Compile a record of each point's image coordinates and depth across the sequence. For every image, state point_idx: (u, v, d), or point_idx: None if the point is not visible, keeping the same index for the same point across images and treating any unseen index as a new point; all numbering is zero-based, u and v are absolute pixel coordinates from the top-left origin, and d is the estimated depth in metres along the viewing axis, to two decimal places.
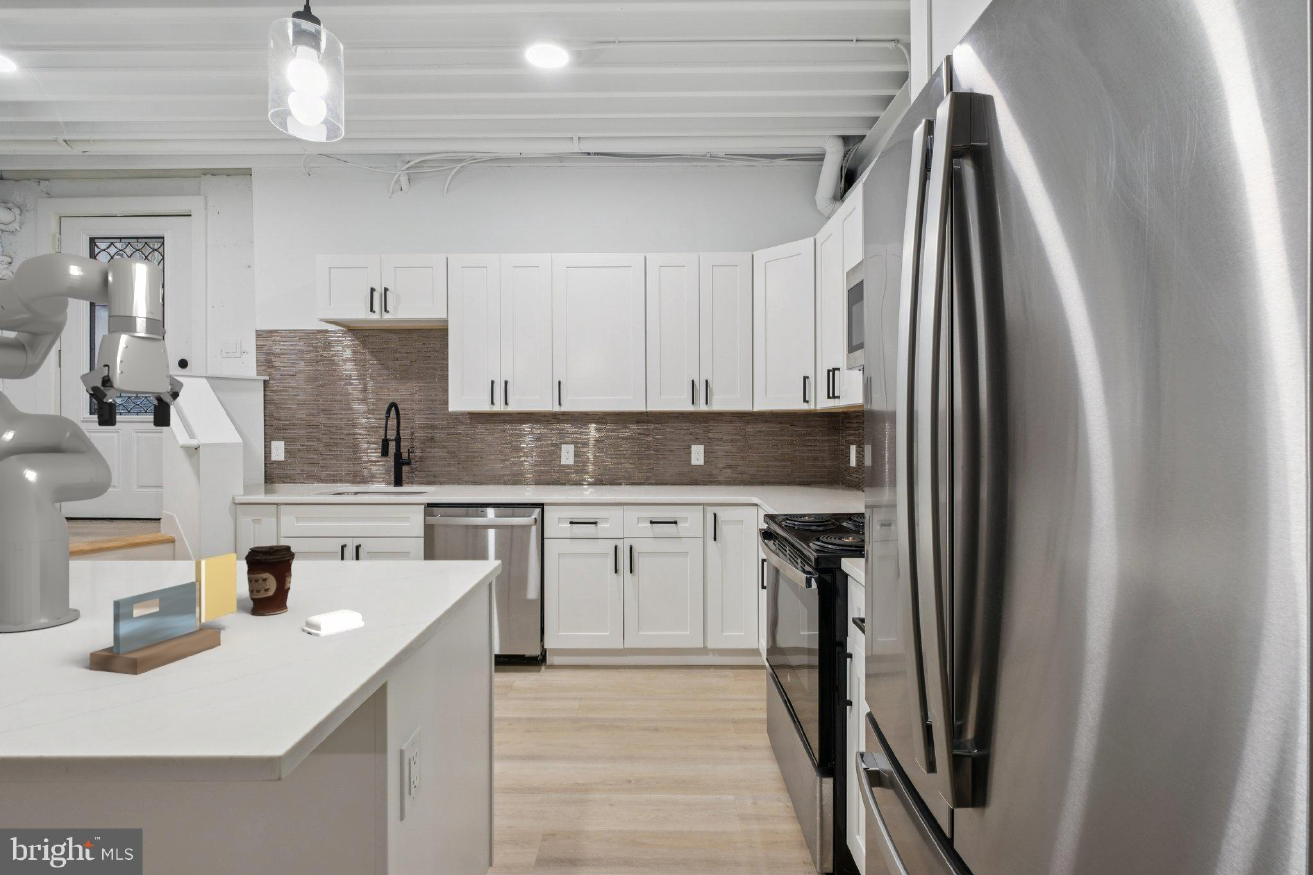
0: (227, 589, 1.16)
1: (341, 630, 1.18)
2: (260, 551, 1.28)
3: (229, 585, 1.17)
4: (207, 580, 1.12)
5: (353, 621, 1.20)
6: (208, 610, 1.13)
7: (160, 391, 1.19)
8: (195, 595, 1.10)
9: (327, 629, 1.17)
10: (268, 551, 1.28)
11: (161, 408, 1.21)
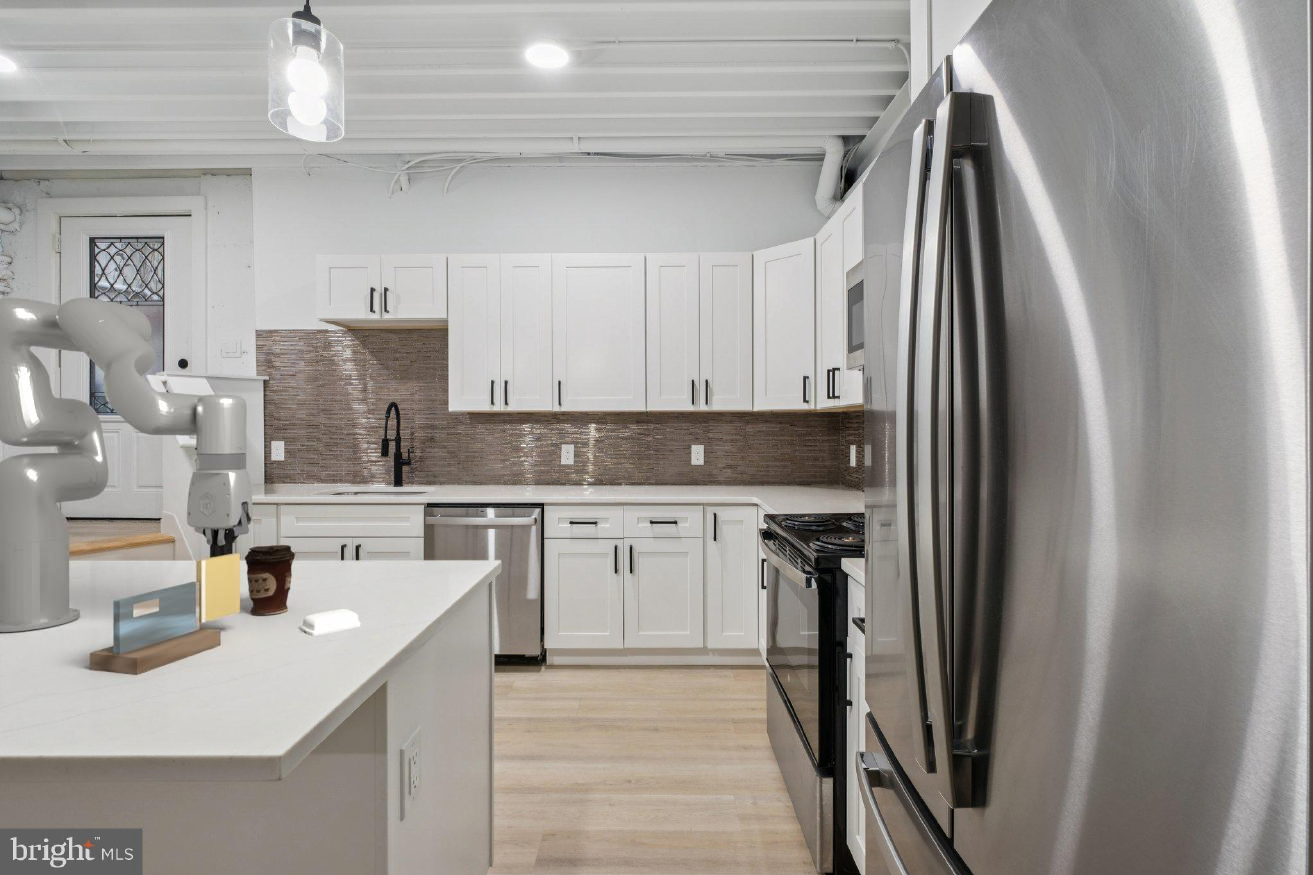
0: (230, 589, 1.16)
1: (335, 630, 1.18)
2: (260, 551, 1.28)
3: (232, 585, 1.16)
4: (208, 580, 1.12)
5: (348, 621, 1.20)
6: (209, 610, 1.13)
7: None
8: (195, 595, 1.10)
9: (321, 628, 1.17)
10: (268, 551, 1.28)
11: None
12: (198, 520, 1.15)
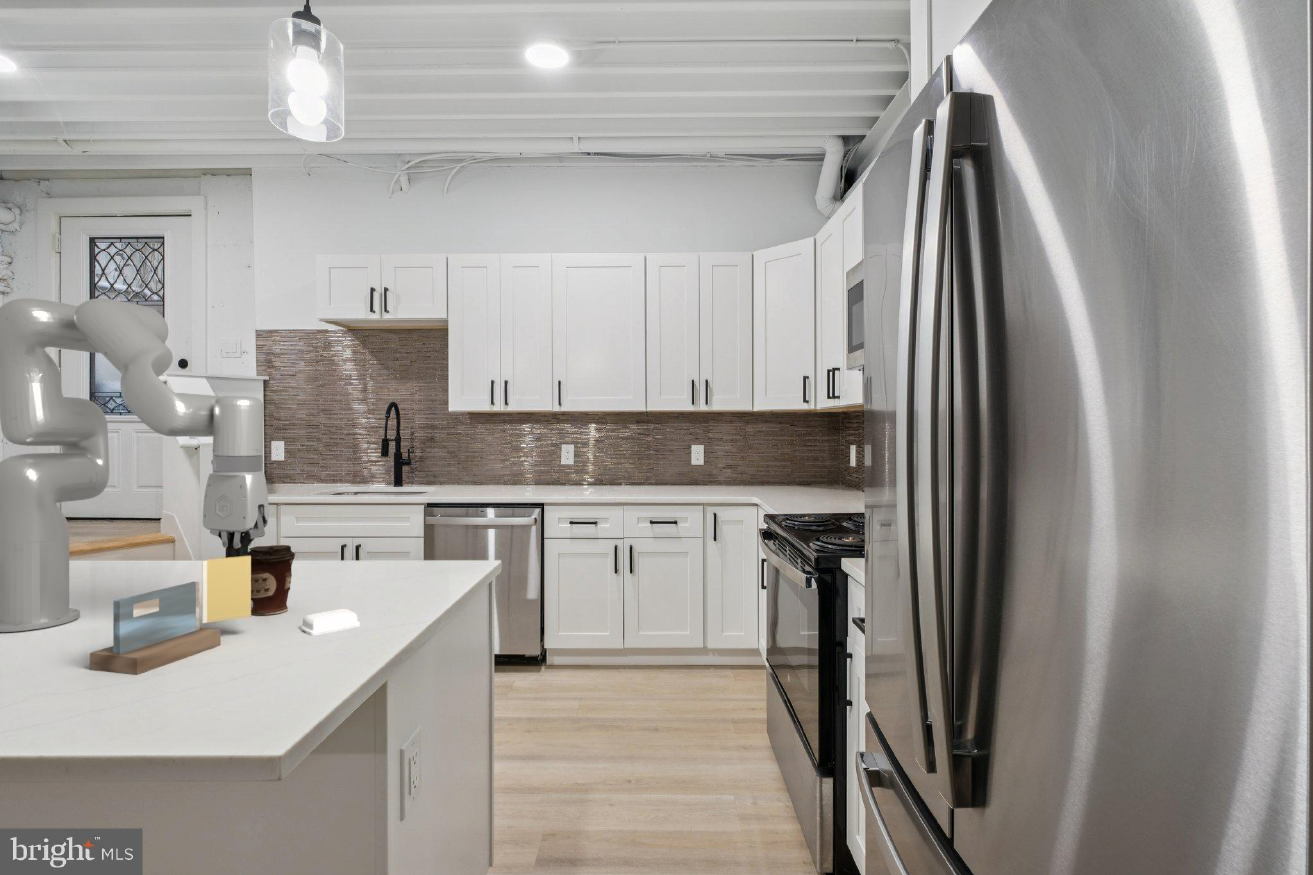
0: (238, 592, 1.14)
1: (334, 630, 1.18)
2: (260, 551, 1.28)
3: (241, 588, 1.14)
4: (210, 581, 1.12)
5: (348, 621, 1.20)
6: (212, 611, 1.12)
7: None
8: (195, 595, 1.10)
9: (319, 628, 1.17)
10: (268, 551, 1.28)
11: None
12: (214, 522, 1.14)
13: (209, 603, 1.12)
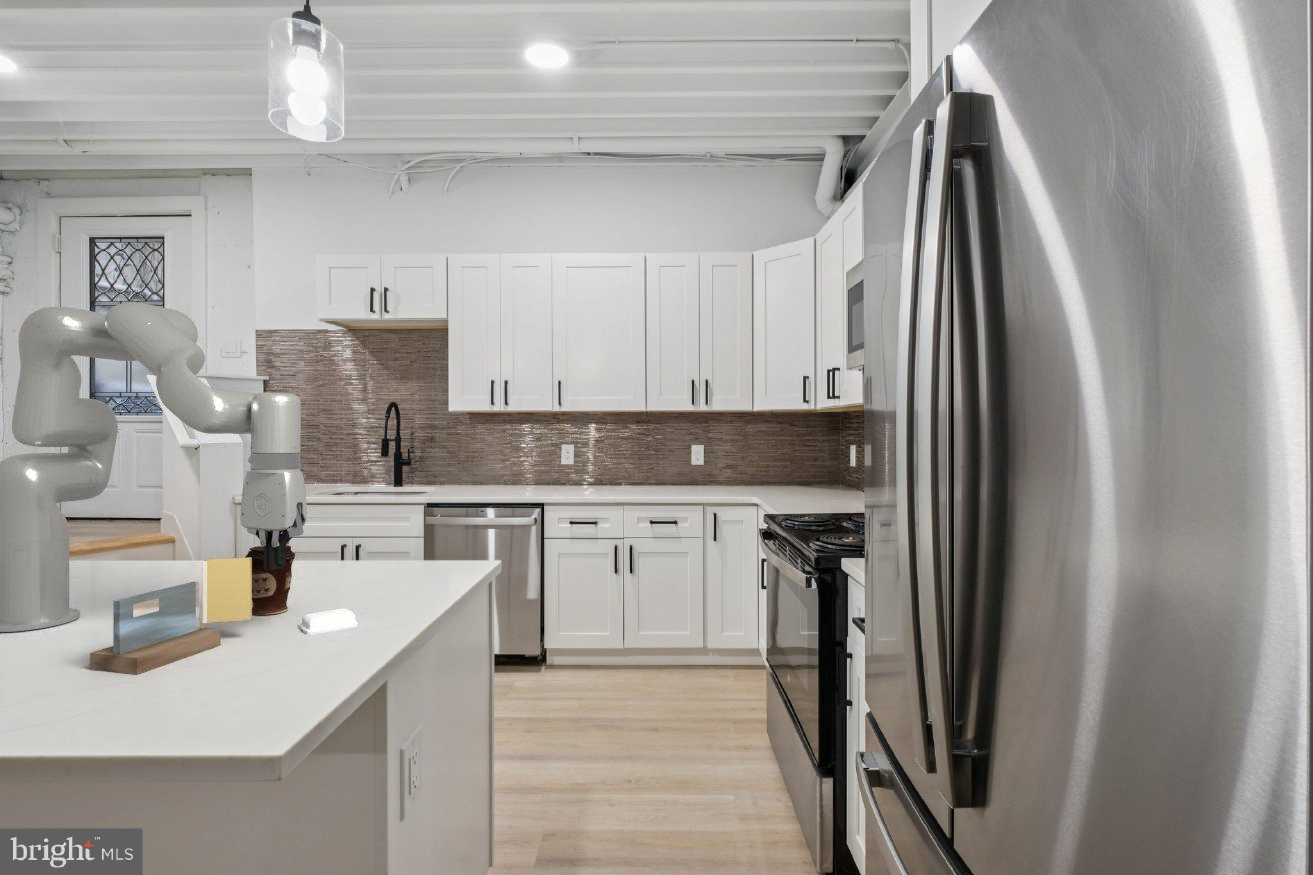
0: (237, 594, 1.13)
1: (331, 629, 1.18)
2: (260, 551, 1.28)
3: (240, 590, 1.13)
4: (210, 581, 1.11)
5: (345, 621, 1.20)
6: (212, 612, 1.11)
7: None
8: (195, 595, 1.10)
9: (316, 628, 1.17)
10: None
11: None
12: (252, 521, 1.13)
13: (209, 604, 1.11)
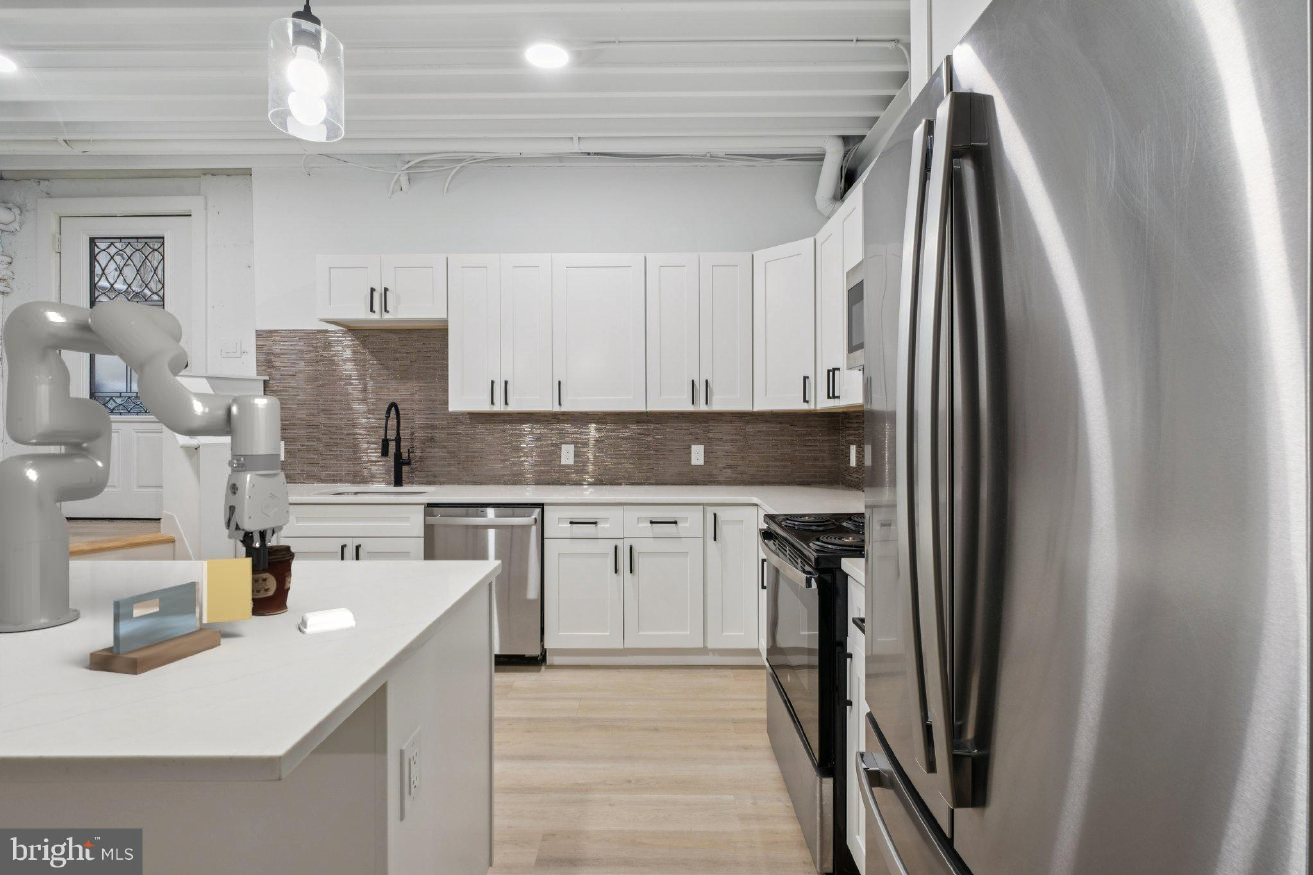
0: (237, 594, 1.13)
1: (328, 629, 1.19)
2: None
3: (239, 590, 1.13)
4: (210, 581, 1.11)
5: (342, 621, 1.20)
6: (211, 612, 1.11)
7: None
8: (195, 595, 1.10)
9: (313, 627, 1.18)
10: (268, 551, 1.28)
11: None
12: (261, 522, 1.14)
13: (209, 604, 1.11)
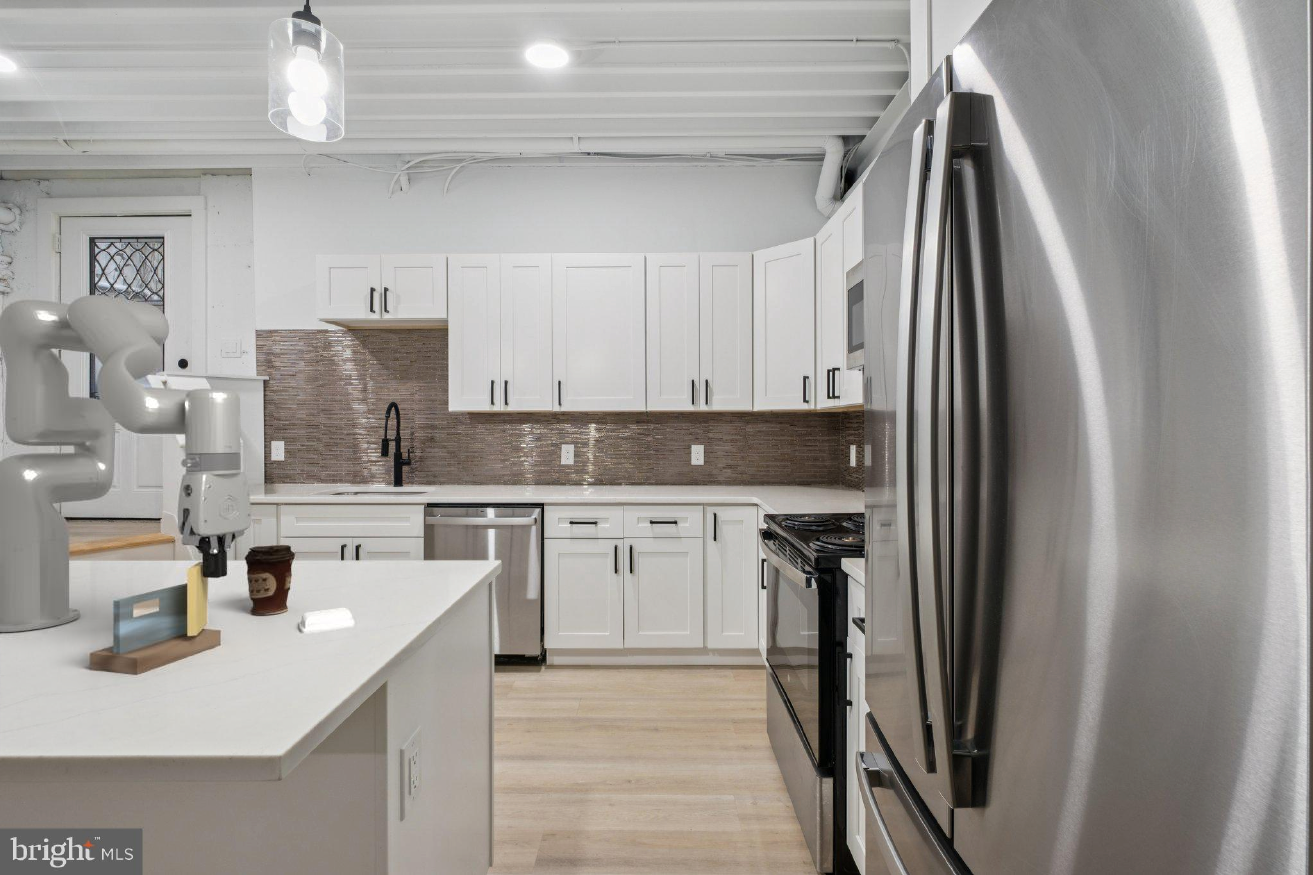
0: None
1: (326, 629, 1.19)
2: (260, 551, 1.28)
3: None
4: None
5: (341, 621, 1.21)
6: None
7: None
8: None
9: (311, 627, 1.18)
10: (268, 551, 1.28)
11: None
12: (218, 526, 1.05)
13: None
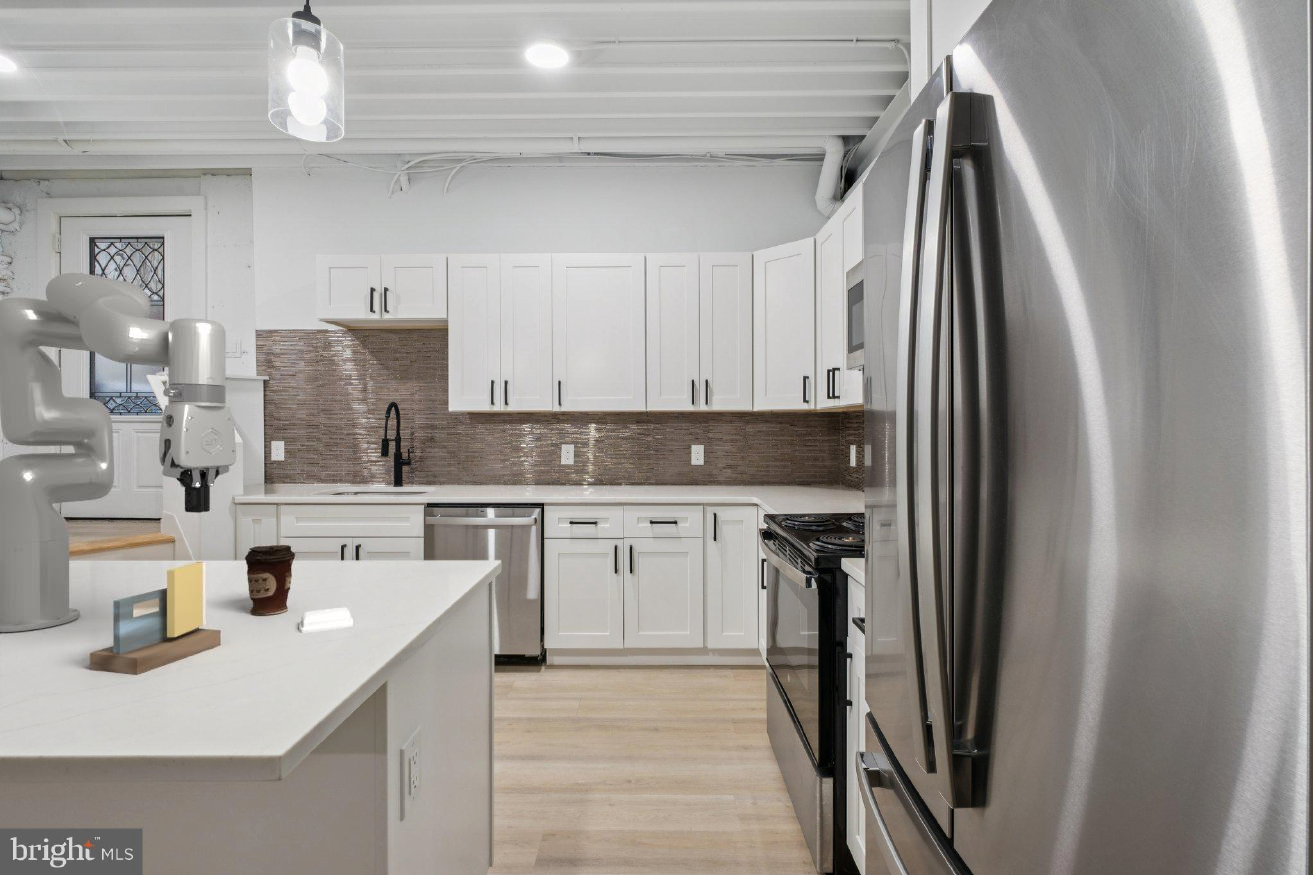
0: None
1: (324, 628, 1.19)
2: (260, 551, 1.28)
3: None
4: None
5: (339, 621, 1.21)
6: None
7: None
8: None
9: (310, 626, 1.18)
10: (268, 551, 1.28)
11: None
12: (200, 459, 1.03)
13: None
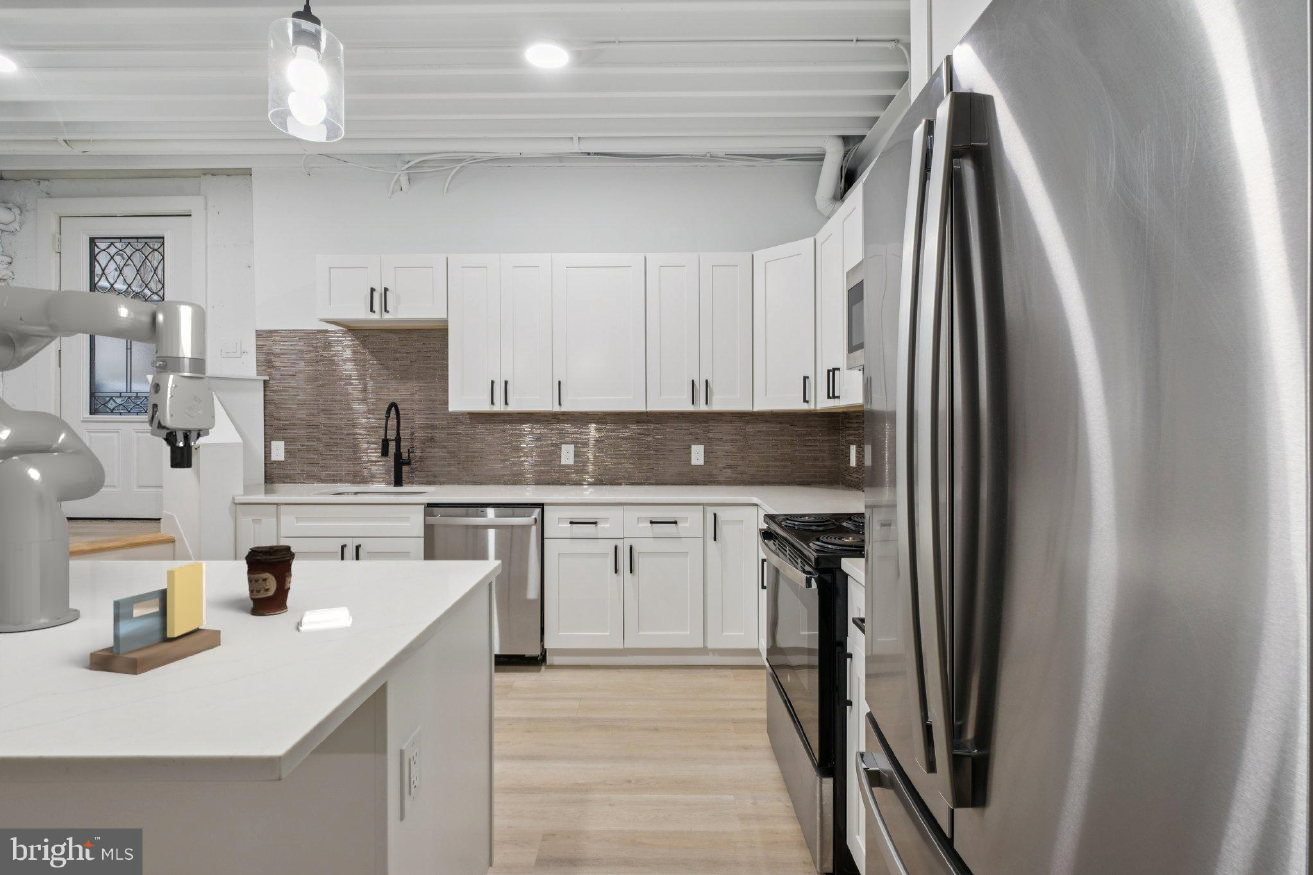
0: None
1: (322, 628, 1.19)
2: (260, 551, 1.28)
3: None
4: None
5: (337, 620, 1.21)
6: None
7: None
8: None
9: (308, 625, 1.19)
10: (268, 551, 1.28)
11: None
12: (183, 422, 1.20)
13: None
